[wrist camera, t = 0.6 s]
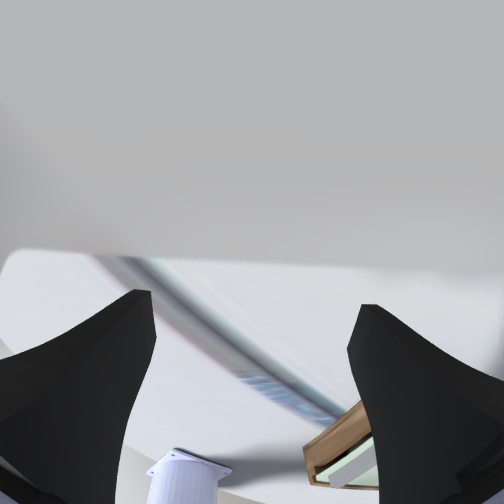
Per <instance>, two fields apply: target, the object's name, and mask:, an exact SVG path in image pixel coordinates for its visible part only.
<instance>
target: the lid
mask: <svg viewBox="0 0 504 504" xmlns="http://www.w3.org/2000/svg"><path fill="white" fill-rule="evenodd" d="M316 479H317V481H324V482H330V486H331V488H337V489H339V488H341V487H343V486H344V485H346V484H350V485H364V486H379V481H378V469H377V461H376V453H375V447H374V442H373V436H372V437H371V438H370V439H369V440H367V441H366V442H365V443H363V444H362V445H361V446H359V447H358V448H357V449H355V450H354V451H353V452H351V453H350V454H349V455H347V456H346V457H344V458H343V459H341V460H340V461H338V462H337V463H335V464H334V465H332V466H331V467H329V468H328V469H326V470H325V471H323V472H322V473H320V474H318V475H317V476H316Z"/></svg>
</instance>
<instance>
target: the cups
mask: <svg viewBox="0 0 504 504" xmlns="http://www.w3.org/2000/svg"><path fill="white" fill-rule="evenodd" d="M371 437H372V434H367V435H365V436H364V437H363V438H362V439H360V440H359V441H358V442H356V443H355V444H354V445H352V446H351V447H350V448H348V449H347V453H348V455H349V454H350V453H351V452H353V451H354V450H355V449H357V448H358V447H359V446H361V445H362V444H363V443H365V442H366V441H367V440H369V439H370V438H371Z"/></svg>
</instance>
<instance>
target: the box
mask: <svg viewBox="0 0 504 504" xmlns="http://www.w3.org/2000/svg"><path fill="white" fill-rule="evenodd" d="M367 434H372V431H371V428H370V424H369V420H368V417H367V414H366V412H365V409H364V406H363V403H362V400H360V401H359V402H358V403H357V404H356V405H355V406H354V407H353V408H351V409H350V410H349V411H348V412H347V413H346V414H345V415H343V416H342V417H341V418H340V419H339V420H337V421H336V422H335V423H334V424H333V425H331V426H330V427H329V428H328V429H326V430H325V431H324V432H323V433H321V434H320V435H319V436H317V437H316V438H315V439H314V440H312V441H311V442H310V443H308V444H307V445H305V446H304V447H303V452H304V457H305V462H306V467H307V472H308V476H309V481H310V485H314V486H322V487H331V486H330V482H324V481H317V479H316V476H317V475H318V474H320V473H322V472H323V471H325V470H326V469H328V468H329V467H331V466H332V465H334V464H335V463H337V462H338V461H340V460H341V459H343V458H344V457H346V456H347V455H348V453H347V449H348V448H350V447H351V446H352V445H354V444H355V443H356V442H358V441H359V440H360V439H362V438H363V437H364V436H365V435H367ZM341 489H355V490H379V486H364V485H350V484H346V485H344V486H343V487H341Z"/></svg>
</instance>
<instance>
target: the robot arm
mask: <svg viewBox="0 0 504 504" xmlns="http://www.w3.org/2000/svg"><path fill="white" fill-rule="evenodd" d="M156 338H157V337H156V331H155V323H154V316H153V308H152V299H151V291H146V290H137V289H134V290H132V291H130V292H128V293H127V294H125V295H123V296H122V297H120V298H119V299H117V300H116V301H114V302H113V303H111V304H110V305H108V306H107V307H105V308H104V309H102V310H101V311H99V312H98V313H96V314H95V315H93V316H92V317H90V318H89V319H87V320H85V321H84V322H82V323H80V324H79V325H77V326H75V327H74V328H72V329H71V330H69V331H67V332H65V333H64V334H62V335H60V336H58V337H56V338H54V339H52V340H50V341H48V342H46V343H44V344H41V345H39V346H37V347H34V348H32V349H29V350H27V351H24V352H22V353H19V354H16V355H14V356H11V357H7V358H4V359H1V360H0V504H115V492H116V482H117V473H118V466H119V461H120V455H121V449H122V444H123V440H124V435H125V431H126V426H127V422H128V419H129V416H130V413H131V410H132V407H133V405H134V402H135V400H136V397H137V394H138V392H139V389H140V387H141V384H142V382H143V379H144V377H145V374H146V372H147V369H148V367H149V364H150V362H151V358H152V354H153V350H154V346H155V342H156ZM347 352H348V357H349V362H350V367H351V371H352V374H353V377H354V380H355V383H356V386H357V389H358V392H359V394H360V397H361V400H362V403H363V406H364V409H365V412H366V414H367V417H368V420H369V424H370V428H371V431H372V436H373V442H374V447H375V453H376V461H377V469H378V481H379V504H504V381H503V380H500V379H497V378H495V377H492V376H489V375H487V374H485V373H483V372H481V371H478V370H476V369H474V368H472V367H470V366H468V365H466V364H464V363H463V362H461V361H459V360H457V359H456V358H454V357H452V356H450V355H449V354H447V353H446V352H444V351H442V350H441V349H439V348H438V347H436V346H435V345H434V344H432V343H431V342H429V341H428V340H426V339H425V338H423V337H422V336H421V335H419V334H418V333H417V332H415V331H414V330H413V329H411V328H410V327H409V326H407V325H406V324H404V323H403V322H402V321H400V320H399V319H398V318H396V317H395V316H394V315H392V314H391V313H389V312H388V311H387V310H385V309H384V308H382V307H380V306H379V305H377V304H362V305H361V308H360V311H359V314H358V317H357V321H356V324H355V327H354V330H353V332H352V335H351V338H350V341H349V344H348V347H347ZM231 473H232V469H230V468H227V467H224V466H220V465H217V464H214V463H211V462H208V461H205V460H203V459H200V458H197V457H194V456H192V455H189V454H186V453H184V452H181V451H179V450H176V449H172V450H171V451H170V452H169V453H168V454H166V455H165V456H164V457H163V458H162V459H161V460H159V461H158V462H157V463H156V464H155V465H154V466H152V467H151V468H150V469H149V470H148V471H147V472H146V474H147V475H149V476H151V477H152V482H151V487H150V491H149V496H148V500H147V504H217V488H218V481H219V480H221V479H223V478H224V477H226V476H227V475H229V474H231Z"/></svg>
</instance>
